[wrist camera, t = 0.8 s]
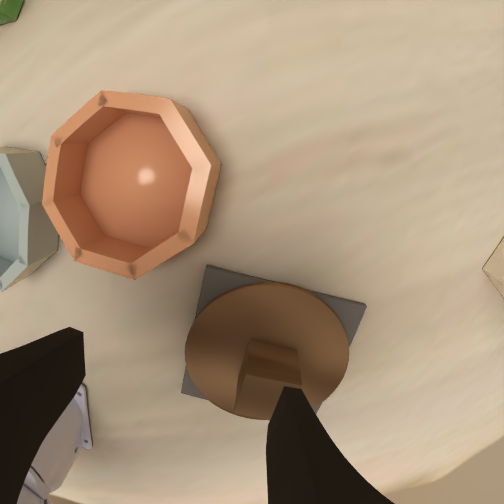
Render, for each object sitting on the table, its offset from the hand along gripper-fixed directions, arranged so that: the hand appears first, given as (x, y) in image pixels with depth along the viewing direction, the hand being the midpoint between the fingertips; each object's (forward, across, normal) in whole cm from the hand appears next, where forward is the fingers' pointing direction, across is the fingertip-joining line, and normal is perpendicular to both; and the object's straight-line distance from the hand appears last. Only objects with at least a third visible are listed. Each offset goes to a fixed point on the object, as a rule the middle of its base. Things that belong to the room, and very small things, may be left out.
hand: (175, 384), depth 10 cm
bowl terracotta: (+10, +6, -5) cm, 12 cm away
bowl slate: (+10, +16, -1) cm, 18 cm away
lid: (+9, -4, +4) cm, 11 cm away
